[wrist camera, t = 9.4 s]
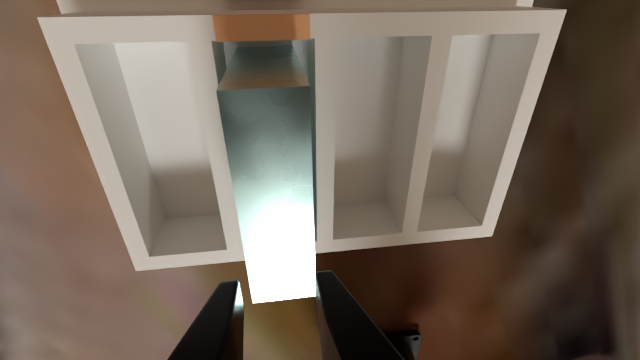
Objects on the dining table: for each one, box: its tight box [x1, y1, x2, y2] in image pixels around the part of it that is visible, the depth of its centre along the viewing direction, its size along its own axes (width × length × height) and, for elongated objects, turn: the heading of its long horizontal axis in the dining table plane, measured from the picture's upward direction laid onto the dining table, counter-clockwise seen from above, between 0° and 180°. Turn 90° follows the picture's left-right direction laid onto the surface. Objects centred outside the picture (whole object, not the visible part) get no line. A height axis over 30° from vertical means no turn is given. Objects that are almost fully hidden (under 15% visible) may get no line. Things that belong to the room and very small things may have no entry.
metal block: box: [216, 45, 315, 303], centre depth 14 cm, size 8×2×7 cm, turn 1°
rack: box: [37, 0, 567, 271], centre depth 15 cm, size 14×20×4 cm
